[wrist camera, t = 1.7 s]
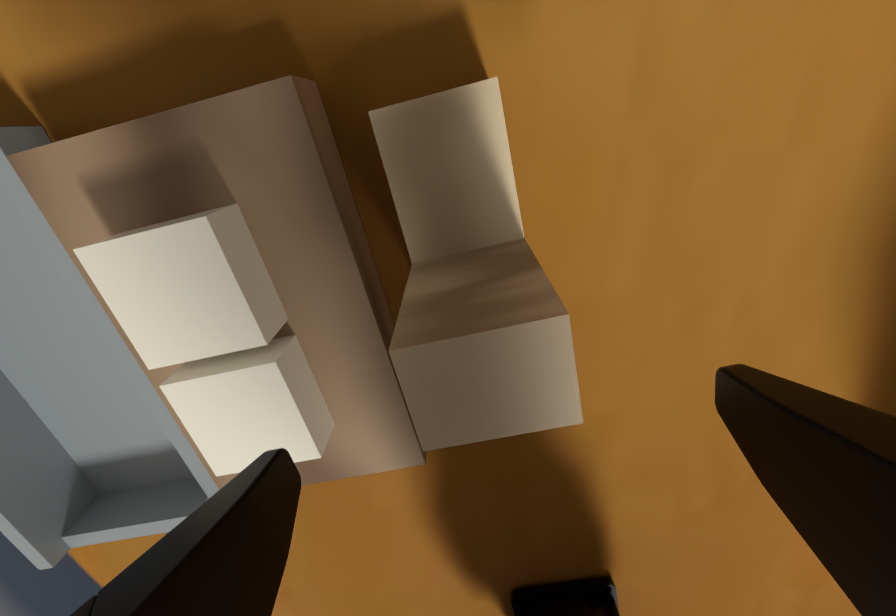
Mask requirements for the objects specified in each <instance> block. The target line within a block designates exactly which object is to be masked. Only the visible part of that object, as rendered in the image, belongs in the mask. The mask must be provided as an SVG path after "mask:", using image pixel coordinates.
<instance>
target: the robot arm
mask: <svg viewBox="0 0 896 616" xmlns="http://www.w3.org/2000/svg"><path fill="white" fill-rule="evenodd" d="M715 405H716V409H717V411H718V413H719V415H720V417H721V418H722V420H723V422H724V423H725V425H726V427H727V428H728V430H729V432H730V433H731V435H732V436H733V438H734V440H735V441H736V443H737V445H738V446H739V448H740V450H741V451H742V453H743V454H744V456H745V458H746V459H747V461H748V463H749V464H750V466H751V468H752V469H753V471H754V472H755V474H756V476H757V477H758V479H759V480H760V482H761V483H762V485H763V486H764V487H765V489H766V490H767V492H768V493H769V494H770V496H771V497H772V498H773V500H774V501H775V502H776V504H777V505H778V506H779V507H780V509H781V510H782V511H783V513H784V514H785V515H786V517H787V518H788V519H789V521H790V522H791V523H792V525H793V526H794V527H795V528H796V530H797V531H798V532H799V534H800V535H801V536H802V538H803V539H804V540H805V542H806V543H807V544H808V546H809V547H810V548H811V549H812V551H813V552H814V553H815V555H816V556H817V557H818V559H819V560H820V561H821V563H822V564H823V565H824V567H825V568H826V569H827V570H828V572H829V573H830V574H831V576H832V577H833V578H834V580H835V581H836V582H837V584H838V585H839V586H840V587H841V589H842V590H843V591H844V593H845V594H846V595H847V597H848V598H849V599H850V601H851V602H852V603H853V605H854V606H855V607H856V608H857V610H858V611H859V612H860V614H861V615H862V616H896V417H895V416H892V415H889V414H886V413H883V412H880V411H877V410H874V409H871V408H868V407H866V406H863V405H860V404H857V403H854V402H851V401H848V400H845V399H842V398H839V397H836V396H834V395H831V394H828V393H825V392H822V391H819V390H816V389H813V388H810V387H807V386H805V385H802V384H799V383H796V382H793V381H790V380H787V379H784V378H781V377H778V376H775V375H773V374H770V373H767V372H764V371H761V370H758V369H755V368H752V367H749V366H746V365H743V364H735V365H729V366H724V367H720V368H719V369H718V370H717V371H716V379H715ZM300 490H301V476H300V473H299V471H298V469H297V468H296V466H295V464H294V462H293V460H292V458H291V456H290V454H289V452H288V451H287V450H286V449H284V448H279V449H273V450H268V451H266V452H264V453H263V454H261V455H260V456H259V457H258V458H257V459H255V460H254V461H253V462H252V463H251V464H250V465H248V466H247V467H246V468H245V469H244V470H242V471H241V472H240V473H239V474H238V475H236V476H235V477H234V478H233V479H232V480H230V481H229V482H228V483H227V484H226V485H225V486H223V487H222V488H221V489H220V490H219V491H217V492H216V493H215V494H214V495H213V496H211V497H210V498H209V499H208V500H207V501H206V502H204V503H203V504H202V505H201V506H200V507H198V508H197V509H196V510H195V511H194V512H192V513H191V514H190V515H189V516H188V517H186V518H185V519H184V520H183V521H182V522H181V523H179V524H178V525H177V526H176V527H175V528H173V529H172V530H171V531H170V532H169V533H167V534H166V535H165V536H164V537H163V538H162V539H160V540H159V541H158V542H157V543H156V544H154V545H153V546H152V547H151V548H150V549H148V550H147V551H146V552H145V553H144V554H142V555H141V556H140V557H139V558H138V559H137V560H135V561H134V562H133V563H132V564H131V565H129V566H128V567H127V568H126V569H125V570H123V571H122V572H121V573H120V574H119V575H117V576H116V577H115V578H114V579H113V580H112V581H110V582H109V583H108V584H107V585H106V586H104V587H103V588H102V589H101V590H100V591H99V592H98V595H94V596H92V597H91V598H90V599H89V600H88V601H86V602H85V603H84V604H83V605H82V606H81V607H79V608H78V609H77V610H76V611H75V612H73V613H72V614H71V615H70V616H271V614H272V611H273V607H274V604H275V600H276V597H277V593H278V590H279V587H280V583H281V580H282V576H283V573H284V569H285V565H286V561H287V558H288V553H289V549H290V544H291V539H292V533H293V528H294V522H295V517H296V512H297V506H298V501H299V495H300ZM511 603H512V606H513V610H514V613H515V616H620V614H619V611H618V602H617V594H616V587H615V584H614V582H613V580H612V579H610V578H602V579H594V580H587V581H579V582H572V583H565V584H557V585H550V586H542V587H535V588H527V589H520V590H515V591H513V592H512V593H511Z"/></svg>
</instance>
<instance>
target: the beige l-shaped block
mask: <svg viewBox="0 0 896 616" xmlns="http://www.w3.org/2000/svg"><path fill="white" fill-rule="evenodd" d="M368 114H369V117H370V120H371V124H372V127H373V131H374V134H375V138H376V141H377V145H378V148H379V152H380V155H381V159H382V162H383V166H384V169H385V172H386V176H387V179H388V183H389V186H390V190H391V193H392V197H393V200H394V204H395V207H396V211H397V214H398V217H399V221H400V224H401V228H402V231H403V235H404V238H405V242H406V245H407V249H408V252H409V256H410V259H411V263H412V265H411V269H410V273H409V277H408V280H407V284H406V288H405V291H404V295H403V299H402V303H401V306H400V310H399V314H398V318H397V321H396V325H395V329H394V332H393V336H392V340H391V344H390V347H389V354H390V357H391V360H392V363H393V366H394V369H395V372H396V375H397V377H398V380H399V383H400V386H401V389H402V392H403V395H404V398H405V401H406V404H407V406H408V409H409V412H410V415H411V418H412V421H413V424H414V427H415V430H416V433H417V435H418V438H419V441H420V444H421V447H422V450H423V452H424V451H430V450H436V449H441V448H447V447H452V446H458V445H464V444H469V443H475V442H481V441H486V440H492V439H497V438H503V437H509V436H514V435H520V434H526V433H531V432H537V431H543V430H548V429H554V428H559V427H565V426H571V425H576V424H582V423H583V417H582V409H581V402H580V394H579V386H578V379H577V371H576V363H575V356H574V348H573V340H572V333H571V325H570V317H569V313H568V311H567V310H566V308H565V306H564V305H563V303H562V301H561V300H560V298H559V296H558V295H557V293H556V291H555V289H554V288H553V286H552V284H551V283H550V281H549V279H548V278H547V276H546V274H545V273H544V271H543V269H542V267H541V266H540V264H539V262H538V261H537V259H536V257H535V256H534V254H533V252H532V250H531V249H530V247H529V245H528V244H527V242H526V240H525V239H524V233H523V227H522V221H521V215H520V209H519V203H518V197H517V191H516V185H515V179H514V173H513V167H512V161H511V155H510V149H509V143H508V137H507V131H506V125H505V119H504V113H503V107H502V101H501V95H500V89H499V83H498V77H494V78H490V79H487V80H483V81H479V82H475V83H472V84H468V85H464V86H461V87H457V88H453V89H450V90H446V91H442V92H438V93H435V94H431V95H427V96H424V97H420V98H416V99H412V100H409V101H405V102H401V103H398V104H394V105H390V106H387V107H383V108H379V109H375V110H372V111H368Z"/></svg>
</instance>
